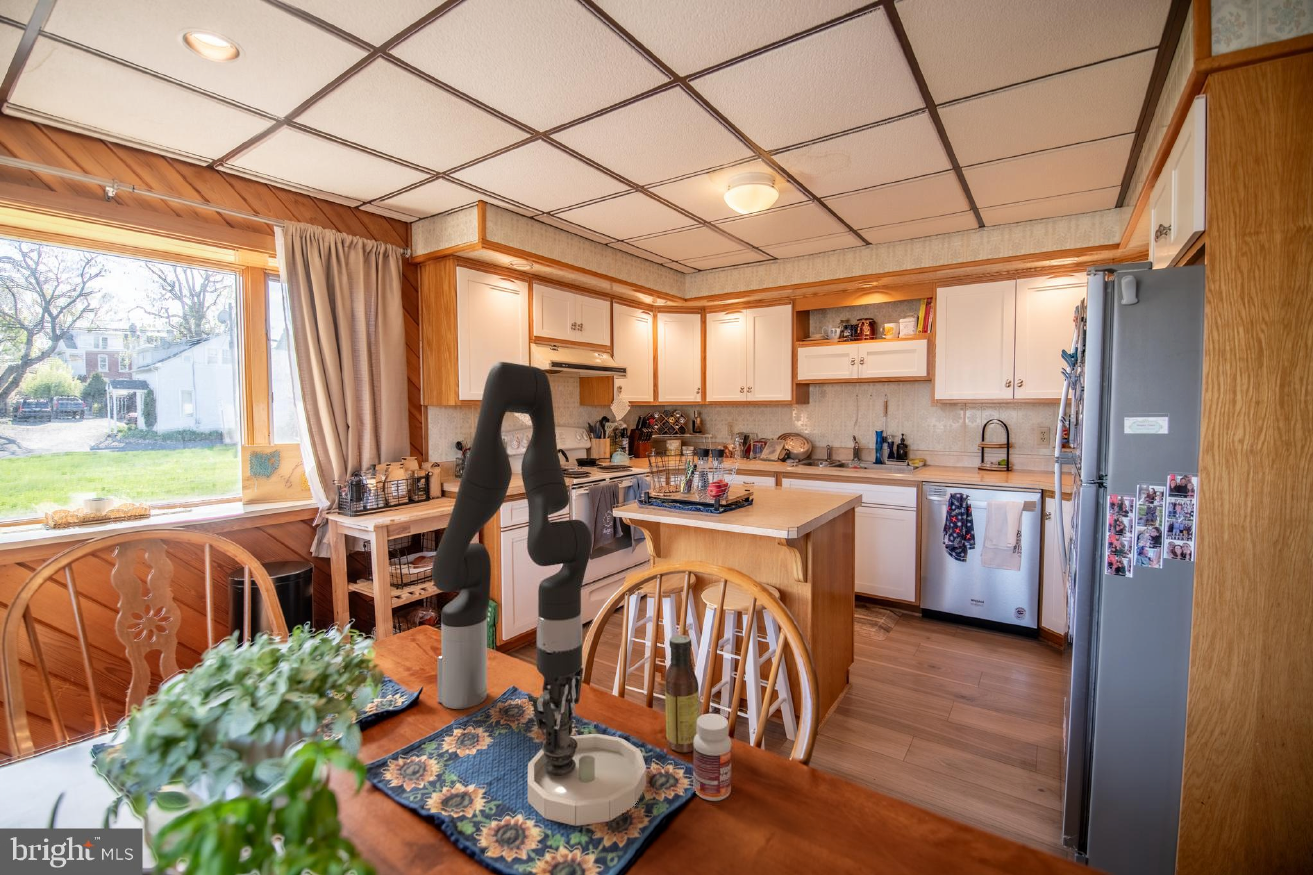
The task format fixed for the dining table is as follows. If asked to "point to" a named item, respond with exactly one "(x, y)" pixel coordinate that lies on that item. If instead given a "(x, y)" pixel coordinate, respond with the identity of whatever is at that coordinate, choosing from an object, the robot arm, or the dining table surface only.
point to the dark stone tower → (561, 749)
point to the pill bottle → (712, 758)
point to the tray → (589, 782)
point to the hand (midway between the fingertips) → (559, 740)
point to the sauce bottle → (681, 696)
